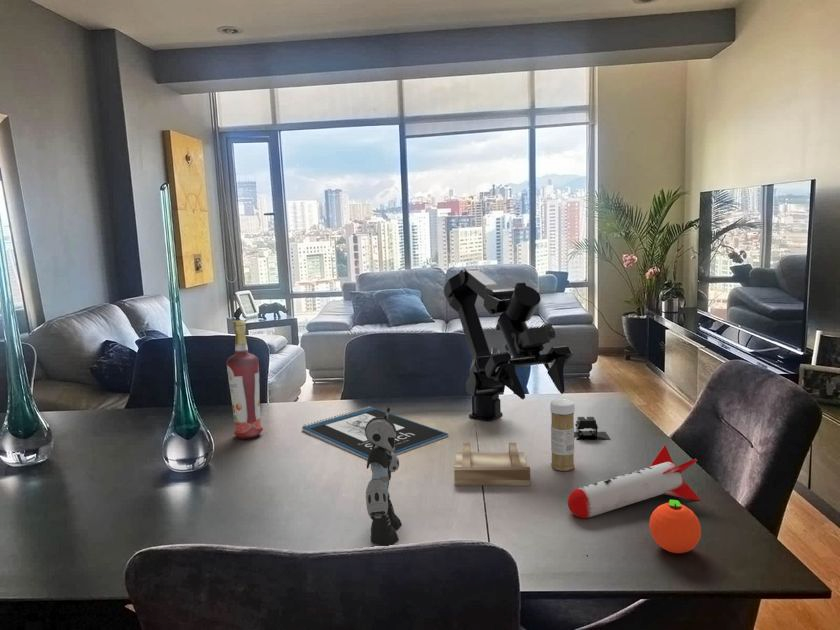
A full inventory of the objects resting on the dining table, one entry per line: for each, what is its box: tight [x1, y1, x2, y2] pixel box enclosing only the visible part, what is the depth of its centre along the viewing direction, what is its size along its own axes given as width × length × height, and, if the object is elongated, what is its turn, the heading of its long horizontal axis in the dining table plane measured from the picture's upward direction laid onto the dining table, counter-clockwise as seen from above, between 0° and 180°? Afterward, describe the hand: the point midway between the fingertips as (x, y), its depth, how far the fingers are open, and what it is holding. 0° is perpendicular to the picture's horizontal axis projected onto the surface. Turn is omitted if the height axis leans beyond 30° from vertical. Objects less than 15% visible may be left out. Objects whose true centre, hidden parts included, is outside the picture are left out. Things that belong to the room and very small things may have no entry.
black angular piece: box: [574, 416, 612, 441], centre depth 132 cm, size 12×7×5 cm, turn 86°
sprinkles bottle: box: [549, 398, 575, 472], centre depth 115 cm, size 5×5×13 cm
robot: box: [365, 407, 403, 547], centre depth 92 cm, size 20×5×20 cm, turn 176°
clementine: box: [648, 499, 702, 554], centre depth 85 cm, size 8×7×7 cm
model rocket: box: [567, 444, 701, 519], centre depth 100 cm, size 11×23×10 cm
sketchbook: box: [301, 405, 449, 460], centre depth 140 cm, size 22×30×2 cm
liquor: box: [225, 319, 264, 440], centre depth 139 cm, size 7×7×28 cm
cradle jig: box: [453, 442, 531, 486], centre depth 116 cm, size 14×14×3 cm
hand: (543, 395), depth 121 cm, fingers open, 9 cm apart
